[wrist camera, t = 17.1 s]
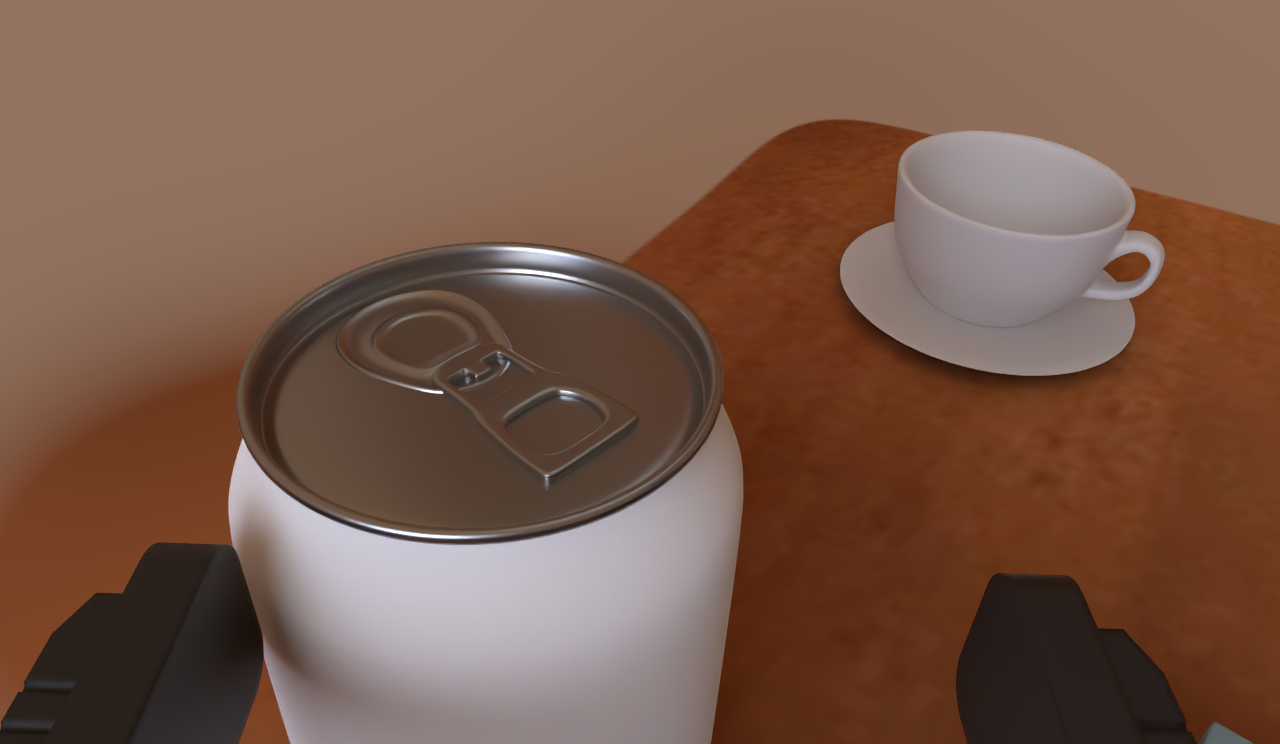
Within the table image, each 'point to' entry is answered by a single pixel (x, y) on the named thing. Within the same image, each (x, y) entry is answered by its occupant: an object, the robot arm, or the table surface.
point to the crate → (1221, 736)
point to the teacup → (1002, 256)
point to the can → (489, 503)
